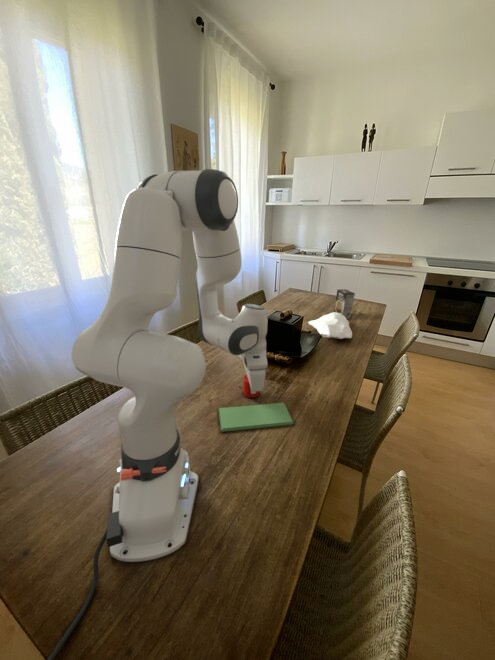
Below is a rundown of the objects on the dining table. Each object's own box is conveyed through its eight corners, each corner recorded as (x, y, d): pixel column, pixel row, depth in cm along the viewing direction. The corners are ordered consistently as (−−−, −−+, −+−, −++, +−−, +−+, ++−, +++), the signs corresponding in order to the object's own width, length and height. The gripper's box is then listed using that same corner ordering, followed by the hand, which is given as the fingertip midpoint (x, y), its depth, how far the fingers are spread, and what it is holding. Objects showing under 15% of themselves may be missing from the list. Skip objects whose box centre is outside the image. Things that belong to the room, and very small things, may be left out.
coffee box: (332, 314, 177) (336, 289, 171) (341, 313, 179) (345, 288, 173) (341, 319, 169) (345, 293, 163) (350, 318, 171) (355, 292, 165)
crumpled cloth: (298, 338, 139) (303, 321, 135) (314, 316, 168) (318, 302, 164) (346, 354, 132) (352, 338, 128) (353, 328, 161) (359, 314, 157)
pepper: (260, 396, 97) (261, 379, 94) (244, 398, 96) (245, 380, 93) (257, 387, 102) (258, 370, 99) (242, 388, 101) (242, 371, 98)
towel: (293, 424, 85) (293, 422, 84) (221, 432, 81) (221, 429, 81) (284, 403, 94) (284, 401, 94) (218, 409, 90) (218, 407, 90)
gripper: (238, 338, 101) (238, 371, 106) (248, 368, 82) (247, 405, 88) (255, 337, 102) (254, 370, 107) (269, 366, 83) (266, 404, 89)
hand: (251, 386), depth 98 cm, fingers closed on pepper, 5 cm apart
